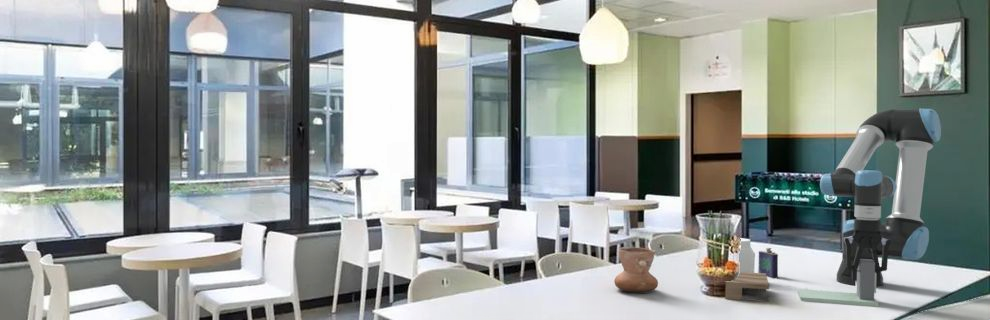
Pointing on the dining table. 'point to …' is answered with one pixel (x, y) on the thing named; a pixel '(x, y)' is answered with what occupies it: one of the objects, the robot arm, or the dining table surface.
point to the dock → (747, 286)
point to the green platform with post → (859, 298)
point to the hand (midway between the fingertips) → (865, 291)
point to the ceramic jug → (636, 270)
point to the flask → (768, 263)
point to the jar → (746, 256)
